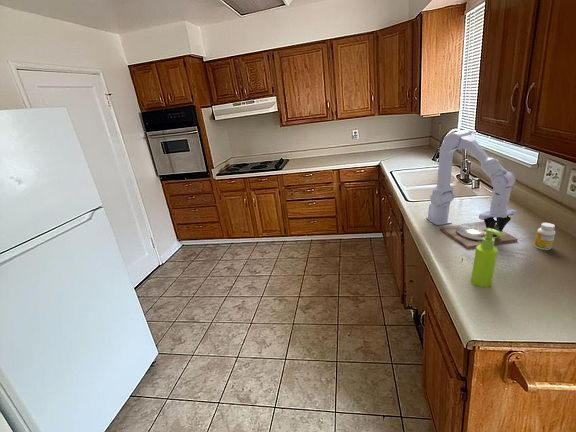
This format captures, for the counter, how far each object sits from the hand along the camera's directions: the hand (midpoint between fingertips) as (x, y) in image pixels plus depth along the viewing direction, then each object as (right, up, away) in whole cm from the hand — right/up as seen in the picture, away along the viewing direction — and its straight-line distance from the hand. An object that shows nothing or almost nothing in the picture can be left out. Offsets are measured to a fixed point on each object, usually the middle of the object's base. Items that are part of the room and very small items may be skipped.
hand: (493, 232), depth 126 cm
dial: (-4, 0, +6) cm, 7 cm away
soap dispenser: (-20, -16, -24) cm, 35 cm away
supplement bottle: (+14, -5, -7) cm, 17 cm away
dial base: (-4, -2, +6) cm, 7 cm away
